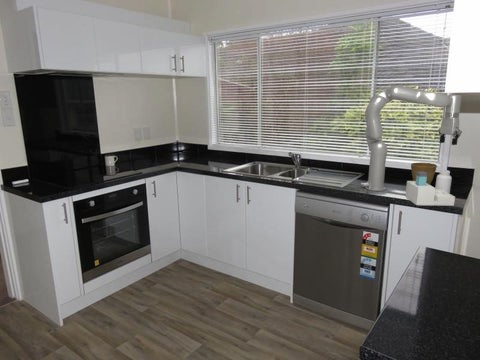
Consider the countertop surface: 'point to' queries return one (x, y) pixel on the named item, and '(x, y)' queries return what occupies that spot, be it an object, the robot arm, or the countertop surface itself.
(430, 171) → the plant pot
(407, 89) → the robot arm
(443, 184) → the pill bottle
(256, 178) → the countertop surface
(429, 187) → the console
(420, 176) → the light blue block
